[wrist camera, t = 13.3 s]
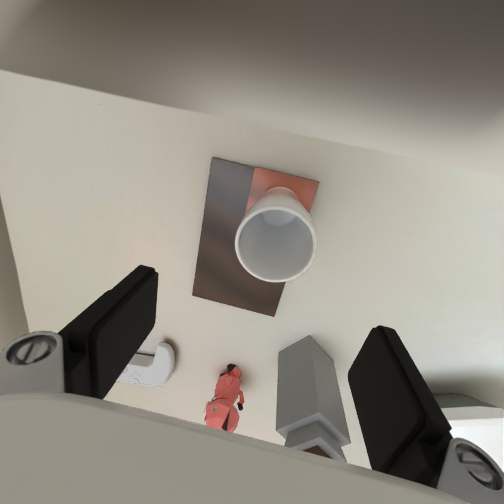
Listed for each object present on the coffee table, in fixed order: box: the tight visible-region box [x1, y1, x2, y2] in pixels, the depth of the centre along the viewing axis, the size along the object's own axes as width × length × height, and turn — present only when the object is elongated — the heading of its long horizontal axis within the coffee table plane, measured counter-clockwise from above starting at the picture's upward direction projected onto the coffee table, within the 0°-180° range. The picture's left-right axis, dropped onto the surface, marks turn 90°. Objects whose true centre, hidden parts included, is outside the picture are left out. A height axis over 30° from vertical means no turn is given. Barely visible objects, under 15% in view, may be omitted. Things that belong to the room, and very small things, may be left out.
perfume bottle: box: [276, 335, 351, 463], centre depth 37 cm, size 7×7×18 cm
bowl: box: [433, 394, 504, 472], centre depth 42 cm, size 22×23×8 cm
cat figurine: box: [205, 364, 244, 433], centre depth 43 cm, size 7×7×12 cm
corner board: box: [192, 157, 319, 317], centre depth 37 cm, size 22×14×1 cm, turn 168°
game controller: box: [116, 342, 175, 388], centre depth 48 cm, size 14×4×10 cm
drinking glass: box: [235, 186, 317, 282], centre depth 27 cm, size 7×7×15 cm
